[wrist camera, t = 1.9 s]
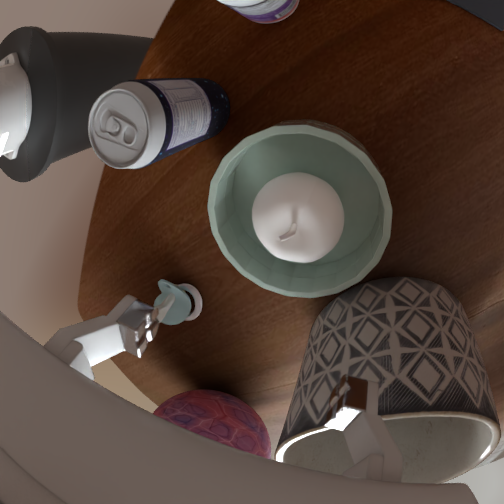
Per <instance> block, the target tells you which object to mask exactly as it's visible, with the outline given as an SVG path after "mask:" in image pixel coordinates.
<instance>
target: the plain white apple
mask: <svg viewBox="0 0 504 504" xmlns="http://www.w3.org/2000/svg"><path fill="white" fill-rule="evenodd" d="M252 221H253V226H254V229H255V232H256V235H257V237H258V238H259V240H260V241H261V243H262V244H263V245H264V246H265V247H266V248H267V249H268V251H269V252H270V253H271V254H273V255H274V256H276V257H277V258H280V259H283V260H287V261H293V262H301V263H306V262H313V261H316V260H318V259H320V258H322V257H323V256H325V255H326V254H327V253H328V252H330V251H331V250H332V249H333V248H334V247H335V245H336V244H337V243H338V241H339V239H340V237H341V234H342V232H343V227H344V210H343V206H342V203H341V201H340V198H339V196H338V194H337V193H336V191H335V190H334V189H333V187H332V186H330V185H329V184H328V183H327V182H326V181H324V180H322V179H320V178H318V177H316V176H314V175H311V174H308V173H302V172H293V173H287V174H283V175H280V176H278V177H276V178H274V179H272V180H271V181H269V182H268V183H266V184H265V185H264V187H263V188H262V189H261V190H260V191H259V193H258V194H257V196H256V198H255V200H254V203H253V207H252Z"/></svg>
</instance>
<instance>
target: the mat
mask: <svg viewBox="0 0 504 504" xmlns="http://www.w3.org/2000/svg"><path fill="white" fill-rule="evenodd" d="M447 1H449V2H451V3H453V4H455V5H457V6H459V7H461V8H463V9H465V10H466V11H468V12H470V13H472V14H474V15H476V16H477V17H479V18H481V19H483V20H484V21H486V22H488V23H489V24H491V25H492V26H494V27H496V28H497V29H499V30H500V31H503V30H504V0H447Z"/></svg>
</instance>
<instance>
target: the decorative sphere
mask: <svg viewBox="0 0 504 504" xmlns="http://www.w3.org/2000/svg"><path fill="white" fill-rule="evenodd" d="M153 414H154V415H156V416H158V417H160V418H163V419H165V420H167V421H169V422H171V423H173V424H176V425H178V426H180V427H182V428H185V429H187V430H189V431H192V432H194V433H196V434H199V435H201V436H204V437H206V438H209V439H212V440H214V441H217V442H219V443H222V444H225V445H228V446H231V447H233V448H236V449H239V450H242V451H245V452H248V453H251V454H255V455H258V456H261V457H265V458H268V459H270V458H271V442H270V438H269V434H268V431H267V429H266V426H265V425H264V423H263V421H262V420H261V418H260V417H259V415H258V414H257V413H256V412H255V411H254V410H253V409H252V408H251V407H250V406H249V405H247V404H246V403H245V402H243V401H242V400H240V399H238V398H237V397H234V396H232V395H230V394H227V393H224V392H220V391H215V390H206V389H205V390H191V391H187V392H183V393H180V394H178V395H175V396H173V397H171V398H170V399H168V400H166V401H165V402H164V403H162V404H161V405H160V406H159V407H158V408H157V409H156V410H155V411H154V413H153Z"/></svg>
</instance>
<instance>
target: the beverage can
mask: <svg viewBox="0 0 504 504" xmlns="http://www.w3.org/2000/svg"><path fill="white" fill-rule="evenodd" d="M229 114H230V103H229V99H228V96H227V94H226V92H225V91H224V90H223V88H222V87H221V86H220V85H219V84H217V83H216V82H214V81H212V80H209V79H205V78H160V79H140V80H128V81H124V82H121V83H119V84H117V85H116V86H114V87H113V88H112V89H110V90H108V91H106V92H104V93H103V94H102V95H100V96H99V97H98V99H97V100H96V101H95V103H94V105H93V106H92V109H91V111H90V115H89V120H88V134H89V139H90V142H91V145H92V148H93V149H94V152H95V153H96V154H97V156H98V157H99V158H100V159H101V160H102V161H103V162H104V163H105V164H107V165H108V166H110V167H113V168H117V169H125V168H129V169H140V168H144V167H146V166H148V165H151V164H153V163H155V162H157V161H159V160H161V159H163V158H165V157H168V156H170V155H172V154H174V153H176V152H179V151H181V150H183V149H185V148H188V147H190V146H192V145H195V144H197V143H199V142H202V141H204V140H207V139H209V138H212V137H214V136H215V135H217V134H218V133H219V132H221V130H222V129H223V128H224V127H225V125H226V123H227V121H228V118H229Z"/></svg>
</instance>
